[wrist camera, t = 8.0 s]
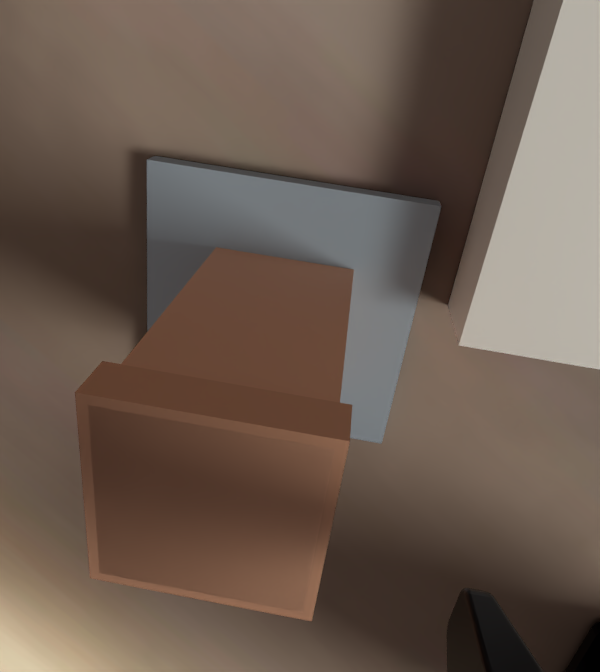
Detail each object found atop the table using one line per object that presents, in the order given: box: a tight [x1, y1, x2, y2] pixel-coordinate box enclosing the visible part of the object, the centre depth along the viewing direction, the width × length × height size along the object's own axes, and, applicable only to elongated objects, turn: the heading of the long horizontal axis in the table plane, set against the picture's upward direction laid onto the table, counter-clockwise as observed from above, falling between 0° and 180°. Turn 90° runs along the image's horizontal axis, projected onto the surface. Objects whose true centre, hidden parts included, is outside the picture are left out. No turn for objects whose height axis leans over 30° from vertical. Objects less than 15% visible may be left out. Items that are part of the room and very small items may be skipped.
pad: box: [147, 156, 441, 444], centre depth 17 cm, size 8×8×1 cm
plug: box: [75, 247, 354, 621], centre depth 13 cm, size 4×4×8 cm
